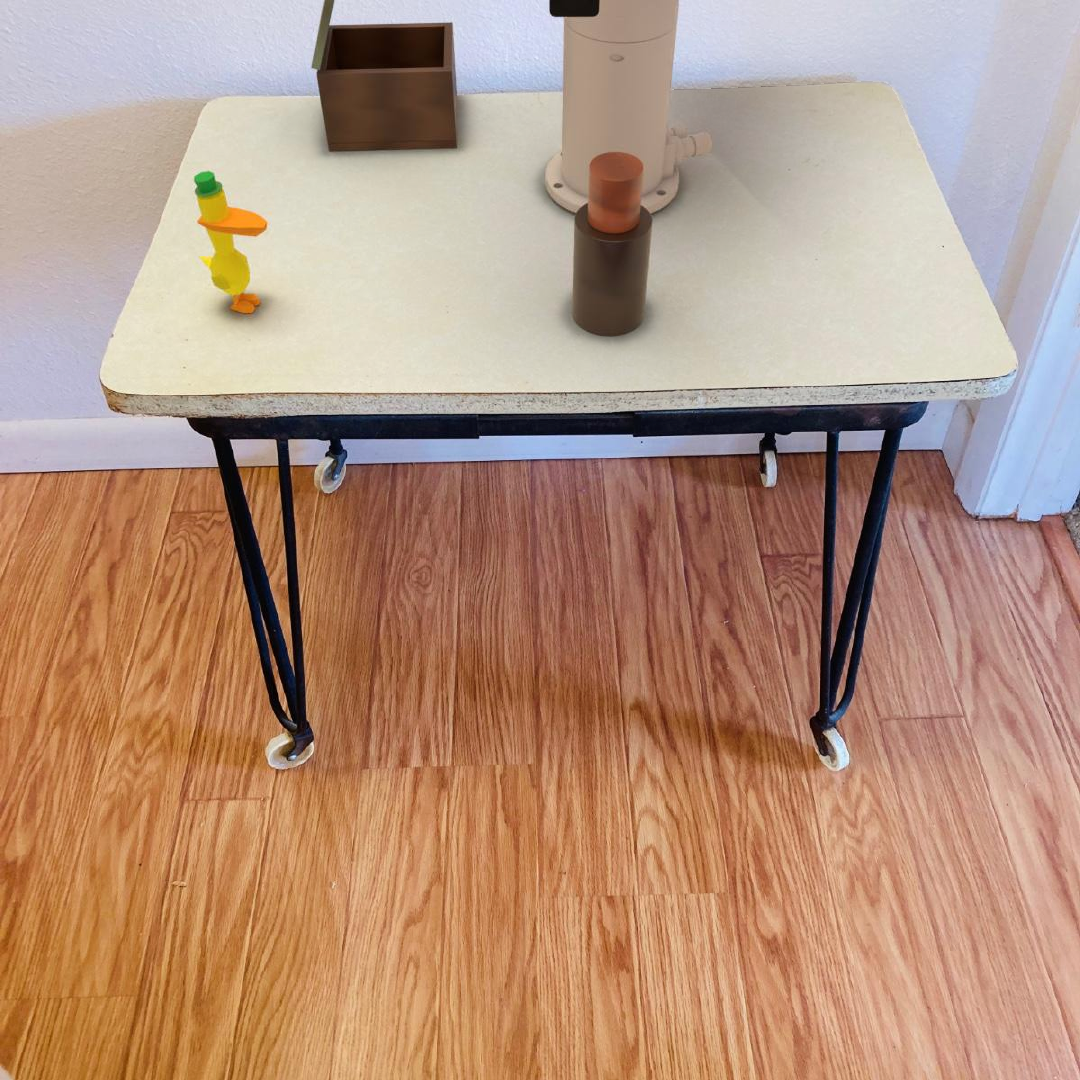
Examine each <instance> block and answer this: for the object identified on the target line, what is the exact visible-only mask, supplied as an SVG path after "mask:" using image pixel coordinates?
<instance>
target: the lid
mask: <svg viewBox="0 0 1080 1080" xmlns="http://www.w3.org/2000/svg"><path fill="white" fill-rule="evenodd" d="M334 5H335V0H323V4H322V9H321V14H320V19H319V23H318V29H317V35H316V41H315V46H314V51H313V56H312V61H311V67H310V68H311V69H314V70H316V71H317V70H320V67H321V62H322V58H323V53H324V48H325V43H326V39H327V34H328V29H329V25H331V19H332V14H333V10H334Z"/></svg>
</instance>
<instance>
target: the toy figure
mask: <svg viewBox="0 0 1080 1080" xmlns="http://www.w3.org/2000/svg"><path fill="white" fill-rule="evenodd" d="M193 182H194V184H195V185H196V188H195V189H194V194H195V196H196V200H197V203H198V207H199V211H200V214H201V216H200V217H199V218H198V219H197V221H196V223H197V224H198V225H200V226H202V227H204V228H205V230H206V233H207V235H208V237H209V240H210V242H211V244H212V246H213V249H214V253H213V255H212V256H198V258H199V259H200V261H202V262H203V263H204V264H205V266H206V267H207V268H208V269H209V270H210V272H211V276H210V279H211V280H212V283H213V285H214V287H216V288H218V289H220V290H222V291H223V292H224V293H225V294H227V295H229V296H232V300H233V303H232V304H231V306H230V310H232V311H235V312H239V313H241V314H253V313H254V312H255V310H256V307H257V306H259V305H260V303H261V299H260V298H259V297H258V296H257V295H256V294H254V293H251V292H250V293H244V292H245V291H246V290H247V288H248V286H249V284H250V281H251V269H250V266H249V261H248V258H247V256H246V255H244V254H243V253H242V252H240V251H239V250H238V249H236V248H235V242H234V235H236V236H242V237H243V236H244V237H255V238H256V237H258V236H260V235H261V234H263V232H265V231H267V229H268V228H267V227H268V221H267V220H266V219H265V218H263V217H262V216H261V214H258V213H255V212H253V211H250V210H246V209H242V208H238V207H233V206H228V201H227V199H226V193H225V190H224V187H223V184H222V182H220V181H217V180H216V176H215V172H212V171H210V170H207V171H201V172H198V173H197V174H196V175H194V178H193Z"/></svg>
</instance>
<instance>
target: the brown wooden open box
mask: <svg viewBox="0 0 1080 1080" xmlns="http://www.w3.org/2000/svg"><path fill="white" fill-rule="evenodd" d="M454 39H455V38H454V24H453V22H412V23H407V22H406V23H370V24H369V23H368V24H367V23H366V24H365V23H364V24H329V29H328V34H327V39H326V43H325V48H324V53H323V58H322V62H321V67H320V70H317V69H316V81H317V86H318V93H319V98H320V105H321V111H322V112H321V113H322V117H323V118H322V119H323V123H324V128H325V129H324V130H325V136H326V141H327V147H328V151H329V152H342V151H343V152H344V151H345V152H346V151H349V152H350V151H381V150H384V151H385V150H387V151H388V150H420V149H421V150H422V149H425V150H426V149H456V148H458V91H457V90H458V89H457V88H458V87H457V69H456V56H455V40H454Z"/></svg>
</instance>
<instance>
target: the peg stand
mask: <svg viewBox="0 0 1080 1080" xmlns="http://www.w3.org/2000/svg"><path fill="white" fill-rule="evenodd" d="M587 217H588V203H586V204H584V205H583V206H582V207H580V208H579V210H578V211H577V212H576V213H574V220H573V221H574V222H573V225H574V226H573V228H574V229H573V257H572V258H573V260H572V263H573V264H572V266H573V267H572V296H571V297H572V299H571V316H572V318H573V319H574V322H575V323H576V325H578V327H579V328H581V329H583V330H584V331H586V332H588V333H591V334H593V335H598V336H605V337H616V336H622V335H625V334H628V333H630V332H632V331H634V330H636V329H637V328H639V326H640V325H641V324H642V322H643V320H644V318H645V310H646V299H647V287H648V275H649V265H650V254H651V244H652V243H651V241H652V231H653V217H652V215H651V214H650V213H649V211H648V210H647V209H646V208H645V207H643V206H642V205H641V207H640V220H639V223H638V225H637V226H636V227H635V228H634V229H632V230H630V231H628V232H624V233H617V234H611V233H605V232H601V231H598V230H596V229H595V228H593V227H592V226H591V225H590V224H589V222H588V218H587Z"/></svg>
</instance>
